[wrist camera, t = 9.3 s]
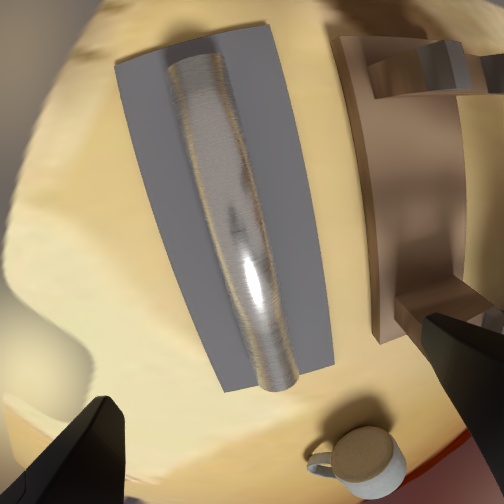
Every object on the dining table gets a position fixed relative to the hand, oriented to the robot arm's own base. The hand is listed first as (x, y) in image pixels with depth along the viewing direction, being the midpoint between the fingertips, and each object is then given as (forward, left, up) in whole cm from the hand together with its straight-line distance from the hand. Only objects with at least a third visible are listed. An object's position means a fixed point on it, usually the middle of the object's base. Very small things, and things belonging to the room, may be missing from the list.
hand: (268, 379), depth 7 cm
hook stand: (0, -12, -12) cm, 17 cm away
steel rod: (0, 0, -11) cm, 11 cm away
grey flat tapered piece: (0, 0, -12) cm, 12 cm away
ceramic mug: (-28, -6, -12) cm, 31 cm away
